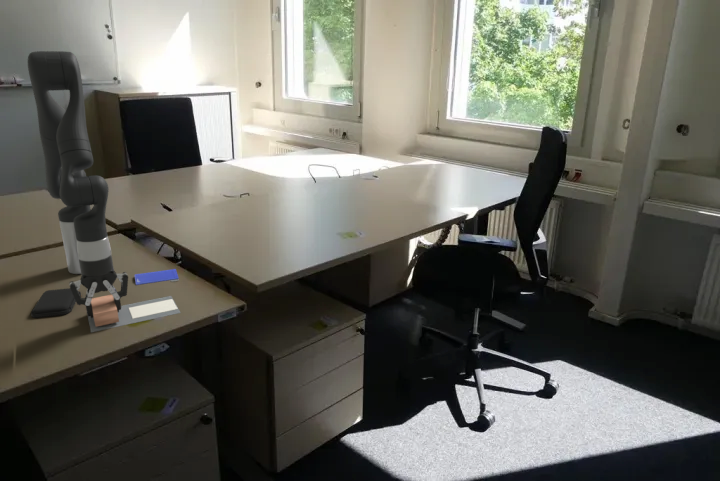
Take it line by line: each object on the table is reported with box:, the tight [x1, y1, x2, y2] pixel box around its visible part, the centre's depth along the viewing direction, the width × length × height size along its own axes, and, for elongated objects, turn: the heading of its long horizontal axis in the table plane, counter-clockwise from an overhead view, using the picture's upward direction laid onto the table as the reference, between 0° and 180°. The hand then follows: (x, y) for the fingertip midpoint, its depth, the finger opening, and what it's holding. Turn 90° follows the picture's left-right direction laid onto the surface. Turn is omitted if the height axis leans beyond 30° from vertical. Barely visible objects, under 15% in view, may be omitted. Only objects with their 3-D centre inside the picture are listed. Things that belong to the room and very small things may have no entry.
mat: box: [86, 295, 182, 333], centre depth 144 cm, size 12×22×1 cm, turn 120°
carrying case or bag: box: [30, 287, 83, 319], centre depth 147 cm, size 11×3×15 cm
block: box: [91, 294, 119, 327], centre depth 140 cm, size 10×6×4 cm, turn 30°
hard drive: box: [134, 268, 180, 286], centre depth 166 cm, size 2×8×12 cm
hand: (104, 313), depth 140 cm, fingers closed on block, 5 cm apart
